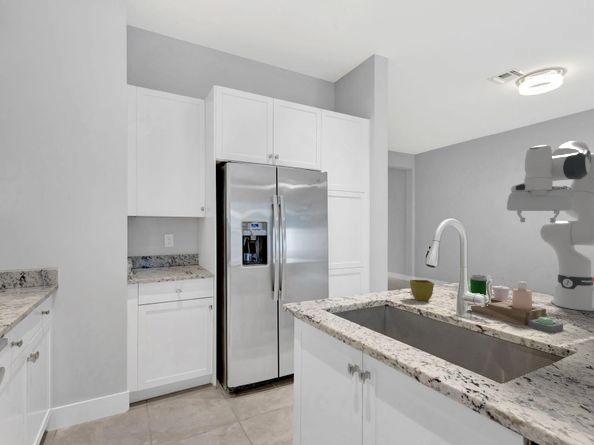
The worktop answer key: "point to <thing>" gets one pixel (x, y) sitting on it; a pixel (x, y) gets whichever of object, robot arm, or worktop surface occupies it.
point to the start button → (545, 320)
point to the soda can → (478, 284)
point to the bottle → (522, 297)
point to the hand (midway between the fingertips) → (537, 222)
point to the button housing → (546, 326)
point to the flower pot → (421, 289)
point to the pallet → (509, 311)
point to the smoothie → (501, 292)
